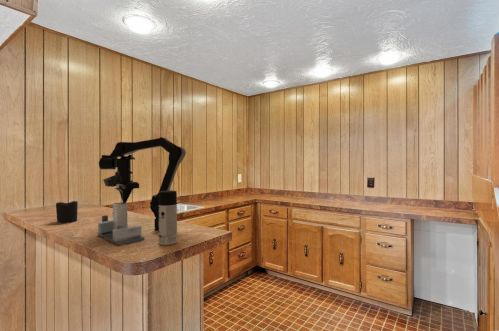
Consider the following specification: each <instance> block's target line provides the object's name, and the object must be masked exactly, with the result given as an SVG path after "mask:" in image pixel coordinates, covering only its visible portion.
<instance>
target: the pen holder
mask: <svg viewBox="0 0 499 331" xmlns="http://www.w3.org/2000/svg"><path fill="white" fill-rule="evenodd" d="M78 204H79V201H77V200H74V201H73V200H72V201H70V202H63V201H60V202H56V203H55V212H56V221H57V223H58V224H67V223H68V224H69V223H74V222H77V221H78Z"/></svg>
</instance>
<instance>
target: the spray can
mask: <svg viewBox="0 0 499 331" xmlns="http://www.w3.org/2000/svg"><path fill="white" fill-rule="evenodd" d="M158 192H159V191H158ZM177 198H178V192H177V190H171V189H170V190H169V191H160V192H159V230H158V244H159V245H160V246H164V247H167V246H172V245H175V244H176V243H177V240H178V211H177V210H178V199H177Z"/></svg>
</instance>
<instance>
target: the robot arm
mask: <svg viewBox="0 0 499 331" xmlns="http://www.w3.org/2000/svg"><path fill="white" fill-rule="evenodd" d="M160 147H161V148H163V149H164V150H165V151H166V152H167V153H168V164H167V167H166V170H165V173H164V176H163V179H162V182H161V185H160V187H159V190H158V193H157V194H153V195H152V196H151V200H150V202H149V208H150V211H151V212H152V213H153V215H154V217H155V219H154V231H159V192H160V191H169V190H171V187H172V184H173V181H174V178H175V175H176V173H177V170H178V168H179V166H180V165H181V163H182V162H183V160H184V158H185V157H186V153H187V152H186V149H185V148H184V147H182V146H178V145H176V144H175V143H173V142H171V141H170V140H169V139H167V138H166V137H163V136H161V137H158V138H154V139H153V138H152V139H147V140H141V141H129V142H128V141H120V142H119V141H118V142H117V143H116V144H115V146H114V149H113V150H112V151H111V153H110V154H108V155H107V154H102V155H101V158H100V159H99V161H98V167H99V169H100V170H102V171H103V170H104V171H105V170H116V169H117V170H116V171H115V172H114V175H112V176H108V177H106V178H104V179H103V183H104V186H105V187H111V188H114V187H115V188H114V189H115V190H117V191H118V192H119V195H120V197H121V200H122V201H121V202H123V203H127V201H128V199H129V198H130V196H131V193H132V191H133V190H134V189H140V183H139V182H138V181H133V180H132V174H133V171H132V167H131V166H132V164H131V163H132V162H131V160H134V161H135V160H136V157H134V156H133V154H134V153H136V152H138V151H142V150H149V149H153V148H160Z"/></svg>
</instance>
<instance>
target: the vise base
mask: <svg viewBox="0 0 499 331" xmlns="http://www.w3.org/2000/svg"><path fill="white" fill-rule="evenodd" d="M97 235H98V236H99V237H102V238H103V239H105V240H106V241H108V242H111V243H113V244H114V245H116V246H117V247H118V246H120V247H121V246H124V245H128V244H132V243H136V242H142V241H144V240H145V236H142V226H141V225H139V224H137V225H131V226H128V227H126V228H120V229H115V230H113V231H110V232H105V233H99V232H98V231H97Z"/></svg>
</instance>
